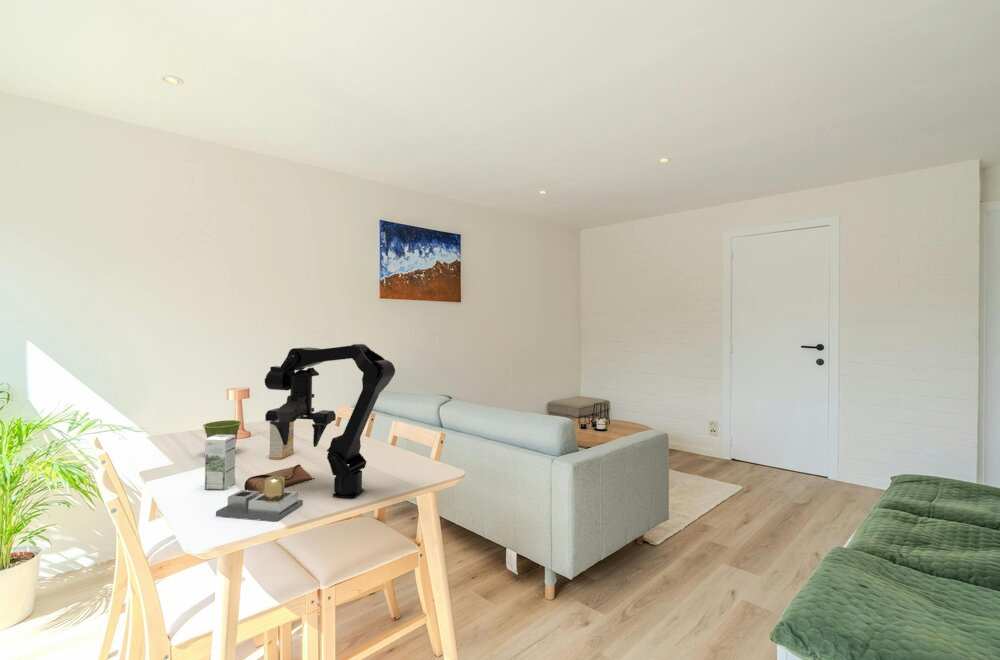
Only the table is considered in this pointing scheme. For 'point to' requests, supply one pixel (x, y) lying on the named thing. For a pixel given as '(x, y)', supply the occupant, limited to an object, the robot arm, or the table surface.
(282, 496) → the brass fitting
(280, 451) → the supplement box
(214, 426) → the plant pot
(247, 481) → the sunglasses case
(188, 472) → the table surface
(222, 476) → the syrup box
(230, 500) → the grey fixture block
